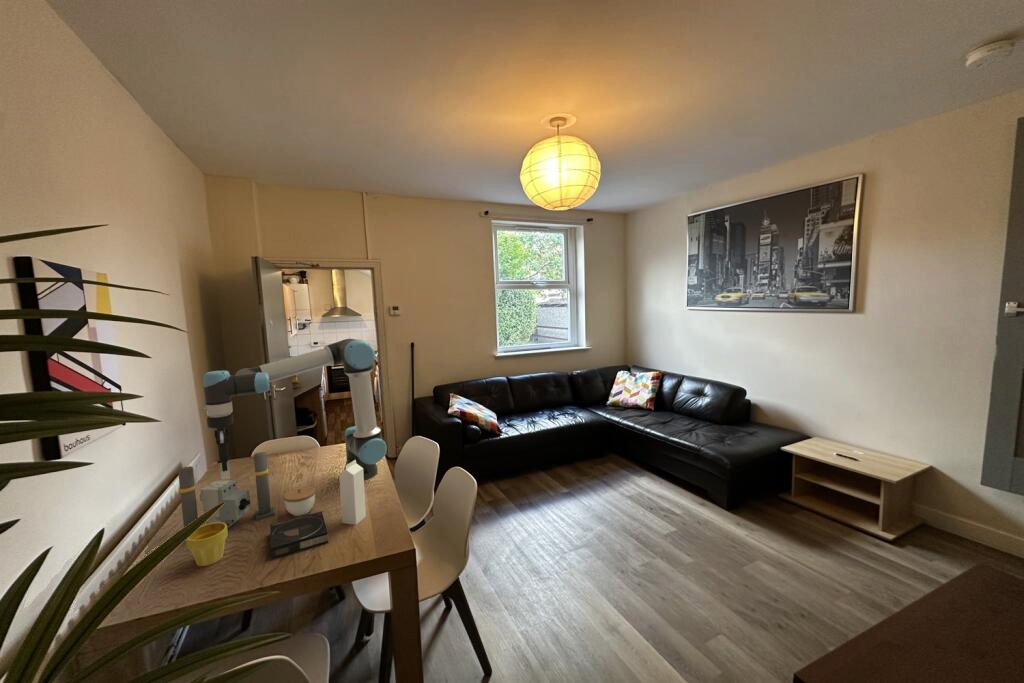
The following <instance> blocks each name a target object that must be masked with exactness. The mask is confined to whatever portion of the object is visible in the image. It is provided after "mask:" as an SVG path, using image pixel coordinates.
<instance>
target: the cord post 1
mask: <svg viewBox="0 0 1024 683" xmlns="http://www.w3.org/2000/svg"><path fill="white" fill-rule="evenodd" d="M177 473H178V483H179V488H178V492H179V493H180V503H181V512H182V522H183V528H184V527H185V526H187V525H188V524H189V523H191V522H192V521H194V520H195V519H197V518H198V519H199V517H198V516H199V515H198V506H197V504H198V503H197V496H196V489H197V485H196V483H195V477H194V476H195V474H194V467H193V466H183V467H181V468H179V469H178V470H177Z"/></svg>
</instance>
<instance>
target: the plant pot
mask: <svg viewBox="0 0 1024 683" xmlns="http://www.w3.org/2000/svg"><path fill="white" fill-rule="evenodd" d="M204 524H205V525H203V524H202V525H200V526H201V527H200V528H199V529H198V530H197V531H196V532H195V533H194V534H192V535H191V536H190V537H189V538H188V539H187V540H185V543H186V547H187V549H188V550H190V551H191V554H192V555H193V558H194V561H195V563H196V565H197V566H198V567H206V566H207V567H208V566H210V565H213V564H215V563H217V562H219V561H220V560H221V559H222V558H223V556H224V552H225V546H226V545H225V544H226V539H227V537H228V532H229V531H228V528H227V525H228V524H227V525H226V524H225V523H223V522H214V523H209V524H206V523H204Z"/></svg>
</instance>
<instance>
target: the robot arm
mask: <svg viewBox="0 0 1024 683" xmlns="http://www.w3.org/2000/svg"><path fill="white" fill-rule="evenodd" d="M375 359H376V353H375V349H374V348H373V346H372V345H371V344H370V343H368V342H367V341H365V340H362V339H355V338H346V339H343V340H340V341H339V340H338V341H336V342H333V343H329V344H326V345H324V347H323V348H321V349H317V350H312V351H310V352H305V353H302V354H298V355H295V356H290V357H287V358H284V359H280V360H276V361H272V362H270V363H269V362H268V363H265V364H261V365H258V366H253V367H250V368H242V369H240V370H238V371H237V372H236V373H235V374H234V375H233V374H230V372H229V371H228V370H214V371H212V370H211V371H208V372H206V373H204V374H203V376H202V377H203V392H204V393H203V394H204V401H205V406H204V407H203V410H205V411H206V416H207V417H206V424H207V428H209V429H216V430H214V438H215V444H216V445H217V446H218V457H219V458H218V460H217V462H216V463H217V464H219V472H220V481H226V480H229V479H231V469H230V461H229V460H230V459H231V458H232V457H231V456H229V451H228V443H229V429H228V428H226V427H229V426H231V425H233V424H234V414H233V400H232V397H238V396H239V397H240V396H246V395H254V394H261V393H266V392H269V390H270V388H271V387H270V383H272V382H276V381H278V380H282V379H286V378H289V377H293V376H295V375H299V374H302V373H306V372H309V371H313V370H316V369H320V368H323V367H327V366H331V367H336V366H338V365H339V366H340V365H342V366H343V373H344V374H345V375H346V376H348V380H349V381H348V382H349V389H350V393H351V394H350V395H351V401H352V409H353V417H354V423H355V425H354V426H350V427H348V428H346V429H345V431H344V439H345V440H344V441H345V457H346V459H345V460H346V462H345V465H344V469H343V471H344V470H345V469H346V465H347V464H349V463H351V462H352V461H354V460H356V464H358V465H359V466H361V467H362V468H363V474H364V481H365V480H369V479H371V478H373V477H375V476H376V475H377V474H378V472H379V471H378V470H379V469H378V465H377V463H379V462H380V461H382V460H383V458H384V457H385V455H386V453H387V449H388V448H387V447H388V446H387V444H386V442H385V440H383V436H382V429H381V428H380V427H379V426H378V424H377V417H376V410H375V402H374V394H373V386H372V379H371V378H372V377H371V373H372V371H373V370H374V365H373V363H374V361H375Z"/></svg>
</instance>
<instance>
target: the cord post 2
mask: <svg viewBox="0 0 1024 683" xmlns="http://www.w3.org/2000/svg"><path fill="white" fill-rule="evenodd" d="M253 462H254V471H253V474H254V477H255V487H256V499H257V509H258V510H255V511H254V513H255V521H259V520H262V519H266V518H271V517H274V516H275V515H276V514H275V513H276V512H275V510H274V509H275V508H274V506H271V497H270V496H271V494H270V484H269V482H270V481H269V473H270V472H269V468H268V460H267V452H265V451H259V452H256V453H254V454H253Z"/></svg>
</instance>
